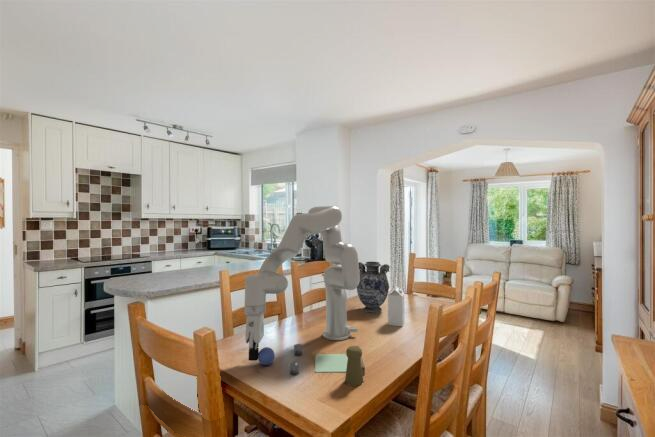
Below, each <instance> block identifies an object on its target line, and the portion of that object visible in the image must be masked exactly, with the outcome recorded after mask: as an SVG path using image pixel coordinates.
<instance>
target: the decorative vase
mask: <svg viewBox="0 0 655 437" xmlns="http://www.w3.org/2000/svg"><path fill="white" fill-rule="evenodd" d="M358 262H359V261H358ZM390 268H391V267H390V265H389V264H387V263H384V264H381V262H379V261H366V263H363V262H359V273H360V281H359V285H358V287H357V288H356V293H357V296H358V298H359V300H360V302H361V303H362V305H364V307H363V311H364V312H366V311H367V312H366V313H371V312H372V314H373V313H374V314H376V313H375V312H378V313H380V312H382V311H383V309H382V308H381V307H380V306H382V305H383V304H384V303H385V301H386V300H387V298H388V295H389V290H390V283H389V280H388V276H387V273H390Z"/></svg>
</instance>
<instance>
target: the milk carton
mask: <svg viewBox="0 0 655 437" xmlns="http://www.w3.org/2000/svg"><path fill="white" fill-rule="evenodd" d="M404 324H405V293H404V291H403V289H402V288H400V287H398V285H395V287H394V289H392V290H391V291H390V292H388V295H387V325H388V326H395V327H404Z"/></svg>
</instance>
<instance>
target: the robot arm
mask: <svg viewBox="0 0 655 437" xmlns="http://www.w3.org/2000/svg"><path fill="white" fill-rule="evenodd" d="M342 217H343V214H342V211H341V209H340V208H339V207H337V206H335V205H325V206H314V207H310V209H309V210H308V212H307V213H297V214H295V215H294V216H292V217H291V219H290V221H289V224H288V226H287V227H286V230H285V231H284V234H283V236H282V238H281V240H280V243H279V245H277V246H276V247H275V248H274V249H273V251H272V252H271V253H270V254H269V255H267V256H266V258H265V259H264V261H263V262H262V264H261V266H260V267H259V270H258V272H257V274H255V273H254V274H248V275H246V276H245V280H244V282H245V283H244V312H243V313H244V315H246V320H245V321H246V322H245V340H244V341H245V343H246V344H248V361H255V362H256V361H259V360H258V353H259V351H260V350H259V349H260V348H259V346H260V343H261V342H262V340H263V338H264V336H265V318H264V316H265V315H264V314H266V299H267V297H266V295H270V294H271V295H279V294H281V293H282V294H283V293H284V292H285V291H286V290H287V288H288V286H289V281H288V279H287V277H286V276H285V275H284V274H281V273H277V271H278V270H279V268H280V267H281V266H282V265H283V264H284V263H285V262H286V261H289V260H290V259H292V258H294V257H297V256H298V255H299V253H300V252H301V248H302V246H303V244H304V242H305V240H306V238H307V236H308V235H312V236H313V235H318V234H321V236H322V245H323V255H324V259H325V261H326V262H327V263H329V264H332V265H330V266H328V267H326V268H325V270H324V272H323V282H324V283H323V284H324V288H325V329H324V330H323V332H322V337H323V338H324V339H327V340H329V341H330V340H331V341H343V340H348V339H349V338H350V337H351V333H358V327H355V326H350V325H348V305H347V304H348V300H347V299H348V296H347V292H346V291H354V290H357V287H358V285H359V281H360V273H359V270H360V269H359V255H358V251H357V249H356V247H355V246H354V245H352V244H351V243H345V242H343V238H342V233H341V229H340V227H339V224H340V223H341V221H342V219H343V218H342ZM333 264H334V265H333Z"/></svg>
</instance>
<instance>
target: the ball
mask: <svg viewBox="0 0 655 437" xmlns="http://www.w3.org/2000/svg"><path fill="white" fill-rule="evenodd" d="M275 355H276V354H275V351H274V350H273V349H272V348H271V347H270V346H269V347H268V346H267V347H266V346H264V347H262V348H261V349H260V350H259V353H258V360H257V361H258V362H259V363H260V364H261V365H262V366H268V365H271V363H273V361H274V359H275Z"/></svg>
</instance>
